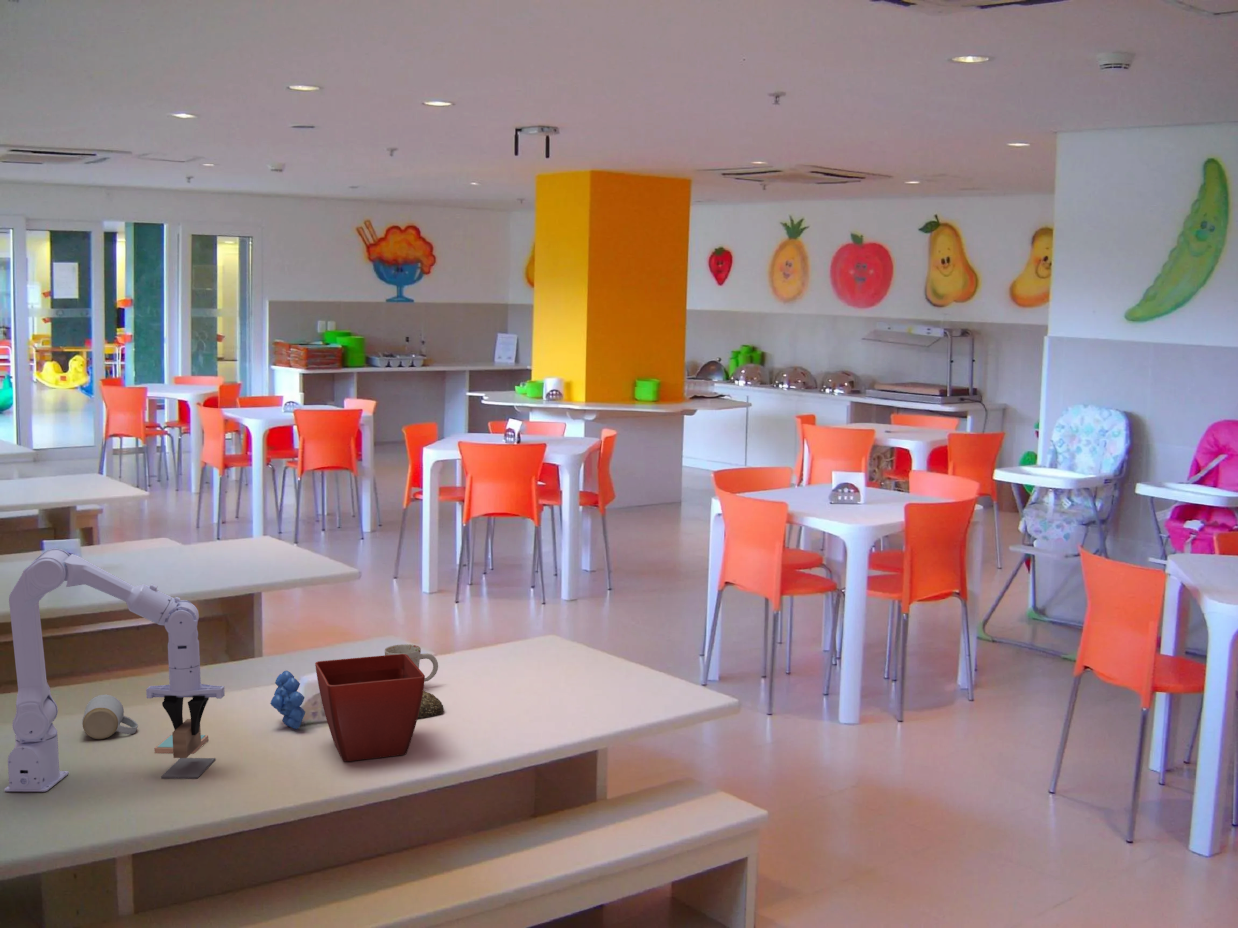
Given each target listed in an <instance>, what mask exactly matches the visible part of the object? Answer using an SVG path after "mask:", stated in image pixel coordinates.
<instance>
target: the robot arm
mask: <svg viewBox="0 0 1238 928" xmlns="http://www.w3.org/2000/svg"><path fill="white" fill-rule="evenodd" d="M64 582H66V586H65V587H66V588H71V587H76V586H82V585H85V586H88V587H90V588H93V589H95V590H98V591H100V592H102V593H105V594H106V595H109V596H111V597H114V598H116V599H119V600H121V601H124V602H125V603H126V606H127V608H128V611H129V612H131V613H133V614H135V615H137V616H140V617H142V618H144V619H146V620H148V621H149V622H152V623H155V624H157V625H159V626H164V628H165V631H166V633H167V636H168V643H167V660H168V679H169V684H163V685H161V684H160V685H149V686H148V687H147V688H146V689H145V691H146V693H145V694H146V699H153V698H163V700H162V702H161V705H162V707H163V709H164V710H165V713H167V715H168V716H169V718H170V721H171V723H172V726H173V729H174V731H175V730H176V729H177V728H178V727H179V726H180V725H181V724H182V723H184V718H183V709H184V707H183V706H184V699H185V698H192V699H190V700H189V701H188V702H187V706H188V711H189V716H190V719H191V732H192V735H196V734H197V733H198V732H199V726H200V727H201V721H202V716H203V714H204V711H205V708H206V706H207V704H208V701H209V700H210V698H215V699H220V700H221V699H223V698H224V697H225V694H226V693H225V686H224V685H214V684H205V683H202V680H201V657H200V655H201V654H200V640H199V639H198V638H199V631H198V622H199V618H200V614H199V610H198V608H197V606H196V605H194V604H193V603H192V602H191V601H190V600H186V599H181V597H178V596H174V597H172V596H171V595H168V594H167V593H165V592H163V591H161V590H158V585H156V584H154V583H151V584H150V585H148V584H146V583H142V584H139V585H138V584H137V585H133V584H132V583H129V582H128V581H125V580H123V579H122V578H120V577H119V576H117V575H115V574H112V573H111V572H110V571H107V570H105V569H104V568H102V567H99V566H98V565H96V564H94V563H92V562H90V561H89V560H86V559H85V558H83V557H82V556H80V555H77V554H75V553H74V554H73V553H71V554H70V553H69V552H68V551H66V550H64V549H61V548H50V549H48V550H47V549H46V551H44V552H43V553H42V554H41V555H39V556H38V557H36V558H35V559H34V560H33V561H32V562H31V563H30V565H28V566H27V567H26V568H25V569H24V570H23V571H22V573H21V576H20V577H19V578H18V581H16V583H15V585H14V587H13V588H12V590H11V592H10V594H9V596H8V603H9V604H8V605H9V615H10V624H11V625H10V626H11V634H12V635H11V636H12V644H13V652H14V661H15V671H16V681H17V694H16V701H15V710H16V713H15V716H14V718H13V720H12V723H11V724H12V725H11V726H12V727H11V728H12V730H13V733H14V735H15V745H14V747H13V749H11V751H10V753H9V755H8V757H7V771H8V772H7V773H8V786H6V787H5V788H4V792H41V793H42V792H43V793H44V792H48V791H49V790H50V789H51V788H53V787H54V786H55V785H56V784H58V783H59V782H60V781H61V780H63V779H64V778H65V777H66V776H68V774H70V773H69V771H68V770H60V755H59V754H60V753H59V737H58V729H57V728H56V726H55V725H54V724H53V722H54V721H55V720H56V718H57V716H58V711H59V709H58V704H57V702H56V701H55V700H54V697H53V696H52V693H51V688H50V685H49V683H48V682H47V681H48V680H47V671H46V661H45V652H44V651H45V650H44V641H43V631H42V623H41V612H40V603H39V602H40V601H41V600H42V599H43V598H44V597H45V596H46V594H48V593H51V592H52V591H54V590H57V589H58V588H59V587H60V586H62V584H64Z"/></svg>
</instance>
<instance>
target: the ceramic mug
mask: <svg viewBox="0 0 1238 928" xmlns="http://www.w3.org/2000/svg"><path fill="white" fill-rule="evenodd" d="M124 713H125V710H124V706H123V704H122V702H121V701H120V700H119V699H118V698H117V697H115V696H114V695H110V694H99V695H97V696H95V697H93V698H91V699H90V700H89V701H88V703H87V704H86V706H85V710H84V713H83V716H82V719H81V720H82V721H81V724H82V729H83V731H84V732H85V734H86V735H87V736H88V737H90V738H91V739H95V740H105V739H108V738H110V737H111V736H112V735H114V734H116V732H117V733H120V734H124V735H134V734H135V733H136V732H137V730H138V727H139V725H138V722H137V721H136V720H134V719H133V718H130V717H128V716H126V715H124ZM122 724H124V725H126V726H124V725H122ZM128 726H129V727H128Z"/></svg>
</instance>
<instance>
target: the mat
mask: <svg viewBox="0 0 1238 928" xmlns="http://www.w3.org/2000/svg"><path fill="white" fill-rule="evenodd" d="M215 761H216V758H215V757H187V758H178V760H176V762H174V763H173V764H172V765H171V766H170V767H169V768H168V769H167V770H166V771H165V772H164V773H163V774H162V775H161V776H160V778H161V779H185V780H186V779H192V780H194V779H199V778H200V777H201V776H202V775H203V774H204V773H205V772H206V771H207V769H209V767H210V766H211V765H212V764H214V762H215Z"/></svg>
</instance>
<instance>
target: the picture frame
mask: <svg viewBox="0 0 1238 928" xmlns="http://www.w3.org/2000/svg"><path fill="white" fill-rule="evenodd" d="M208 741H209V734H201V744H200V745H199V746H198V747H197V748H196V749H195V750H194V751H193V752H192V753H191V754H190V755H193V754H194V755H195V753H196V752H197V751H199V750H200V749H201V748H202V747H203V746H204V745H205V744H206V743H207V742H208ZM202 745H203V746H202ZM201 746H202V747H201ZM200 747H201V748H200ZM153 751H154V754H173V736H172V734H169V735H168V736H167V737H166V738H164V740H162V741H160V742H159V744H158V745H156V746H155V747H154V750H153Z"/></svg>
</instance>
